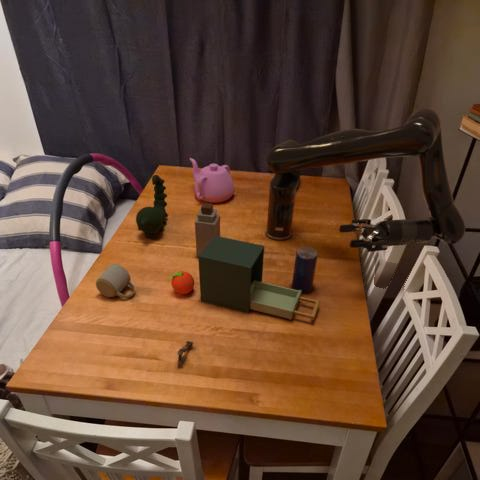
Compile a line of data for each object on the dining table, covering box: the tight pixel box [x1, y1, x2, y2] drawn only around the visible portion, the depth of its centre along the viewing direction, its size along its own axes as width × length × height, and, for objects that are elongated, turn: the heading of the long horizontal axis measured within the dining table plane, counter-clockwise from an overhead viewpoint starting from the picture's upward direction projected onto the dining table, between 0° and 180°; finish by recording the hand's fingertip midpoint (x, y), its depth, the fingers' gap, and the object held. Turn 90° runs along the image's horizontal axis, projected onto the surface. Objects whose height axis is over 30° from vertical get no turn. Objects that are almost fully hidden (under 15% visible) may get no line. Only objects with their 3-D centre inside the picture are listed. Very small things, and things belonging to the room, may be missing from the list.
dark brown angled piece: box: [176, 340, 194, 367], centre depth 103 cm, size 2×8×4 cm, turn 165°
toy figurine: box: [135, 174, 169, 240], centre depth 147 cm, size 9×19×25 cm
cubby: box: [197, 235, 265, 314], centre depth 119 cm, size 15×12×16 cm
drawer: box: [250, 280, 321, 321], centre depth 118 cm, size 21×10×3 cm, turn 70°
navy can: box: [291, 246, 319, 295], centre depth 123 cm, size 6×6×13 cm
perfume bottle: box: [194, 202, 221, 259], centre depth 135 cm, size 7×7×18 cm
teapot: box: [189, 157, 235, 204], centre depth 171 cm, size 22×22×14 cm
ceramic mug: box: [95, 263, 136, 299], centre depth 121 cm, size 11×8×8 cm
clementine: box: [167, 270, 195, 295], centre depth 122 cm, size 8×7×7 cm
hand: (345, 236), depth 118 cm, fingers open, 8 cm apart
